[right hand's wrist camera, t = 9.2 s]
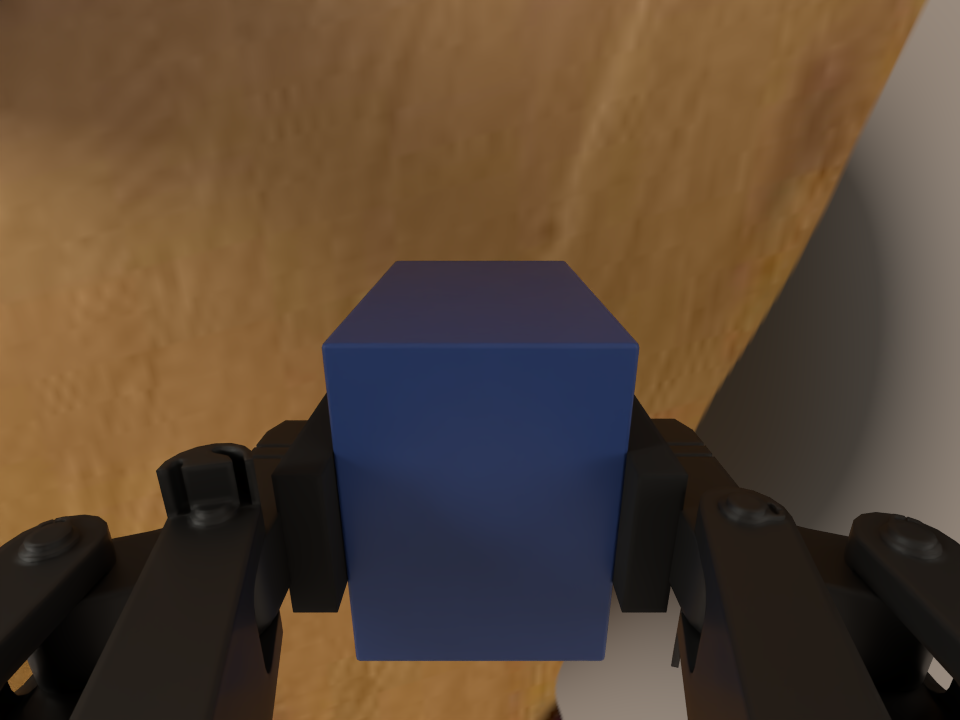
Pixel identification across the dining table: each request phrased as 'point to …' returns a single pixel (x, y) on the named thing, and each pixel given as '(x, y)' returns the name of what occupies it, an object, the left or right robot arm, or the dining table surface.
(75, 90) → the dining table surface
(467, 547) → the block
